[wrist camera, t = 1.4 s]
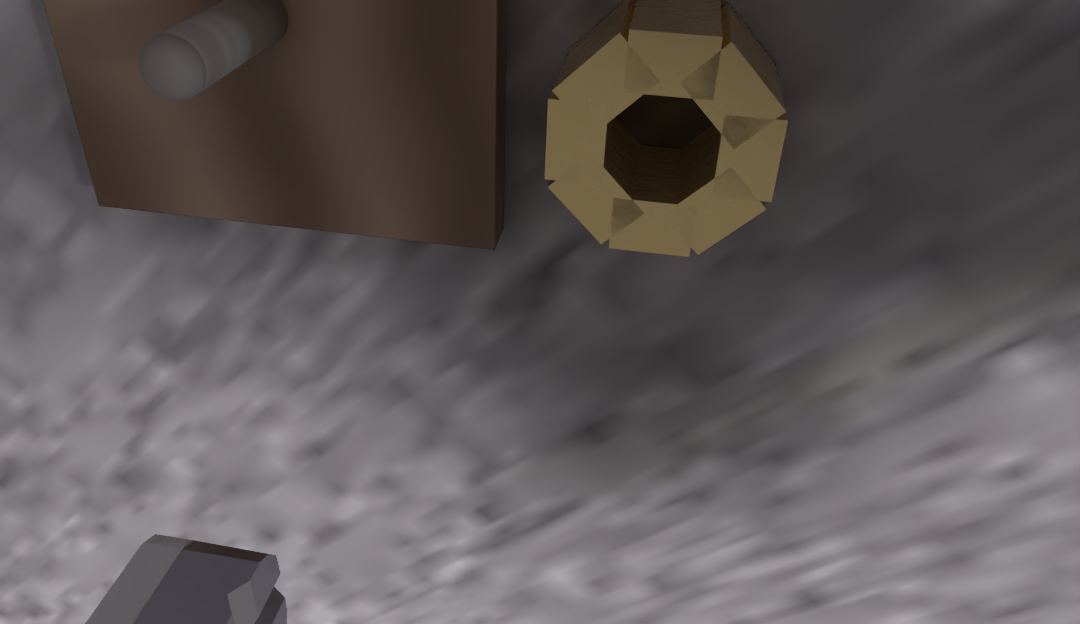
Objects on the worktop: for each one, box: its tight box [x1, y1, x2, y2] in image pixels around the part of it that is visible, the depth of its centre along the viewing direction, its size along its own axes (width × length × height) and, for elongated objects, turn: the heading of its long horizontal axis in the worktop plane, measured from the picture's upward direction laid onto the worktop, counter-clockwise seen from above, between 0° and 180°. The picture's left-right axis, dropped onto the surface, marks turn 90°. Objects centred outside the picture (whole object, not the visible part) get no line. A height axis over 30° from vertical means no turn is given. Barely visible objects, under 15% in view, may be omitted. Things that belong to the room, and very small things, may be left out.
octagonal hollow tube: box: [545, 0, 788, 257], centre depth 24 cm, size 6×6×4 cm
